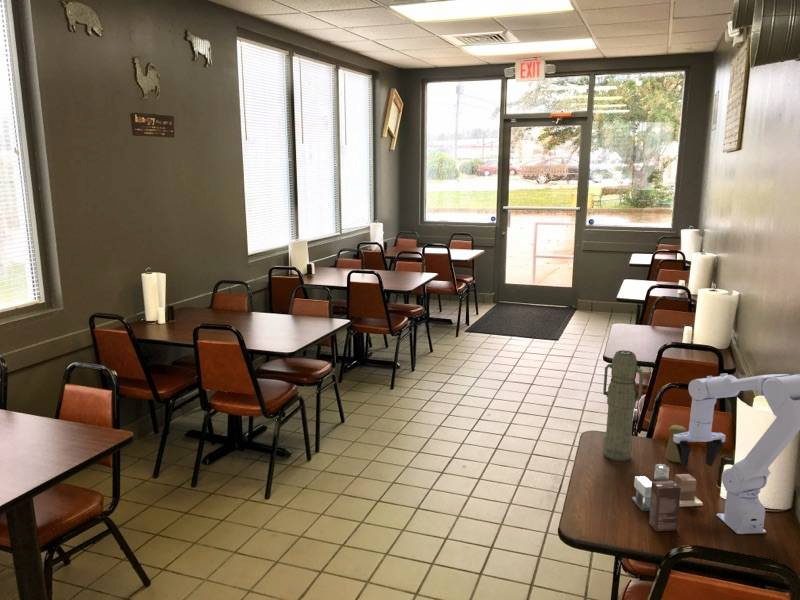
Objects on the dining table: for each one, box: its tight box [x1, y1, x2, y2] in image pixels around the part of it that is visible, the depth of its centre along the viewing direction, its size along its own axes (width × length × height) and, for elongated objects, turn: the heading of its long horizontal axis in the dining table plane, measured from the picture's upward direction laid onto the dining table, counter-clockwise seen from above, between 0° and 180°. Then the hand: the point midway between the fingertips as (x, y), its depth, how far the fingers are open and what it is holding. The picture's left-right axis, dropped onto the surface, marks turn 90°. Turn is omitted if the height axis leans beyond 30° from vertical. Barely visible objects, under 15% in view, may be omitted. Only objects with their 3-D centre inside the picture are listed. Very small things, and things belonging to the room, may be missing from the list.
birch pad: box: [679, 496, 704, 508], centre depth 181 cm, size 7×7×1 cm
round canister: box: [653, 463, 670, 481], centre depth 193 cm, size 4×4×4 cm
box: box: [648, 480, 681, 532], centre depth 165 cm, size 6×4×12 cm
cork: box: [664, 424, 687, 463], centre depth 208 cm, size 6×6×11 cm
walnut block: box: [674, 473, 698, 501], centre depth 180 cm, size 4×4×6 cm
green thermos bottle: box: [602, 349, 645, 462], centre depth 207 cm, size 9×12×35 cm
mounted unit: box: [631, 475, 652, 512], centre depth 177 cm, size 6×4×7 cm, turn 5°
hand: (696, 465), depth 182 cm, fingers open, 7 cm apart
